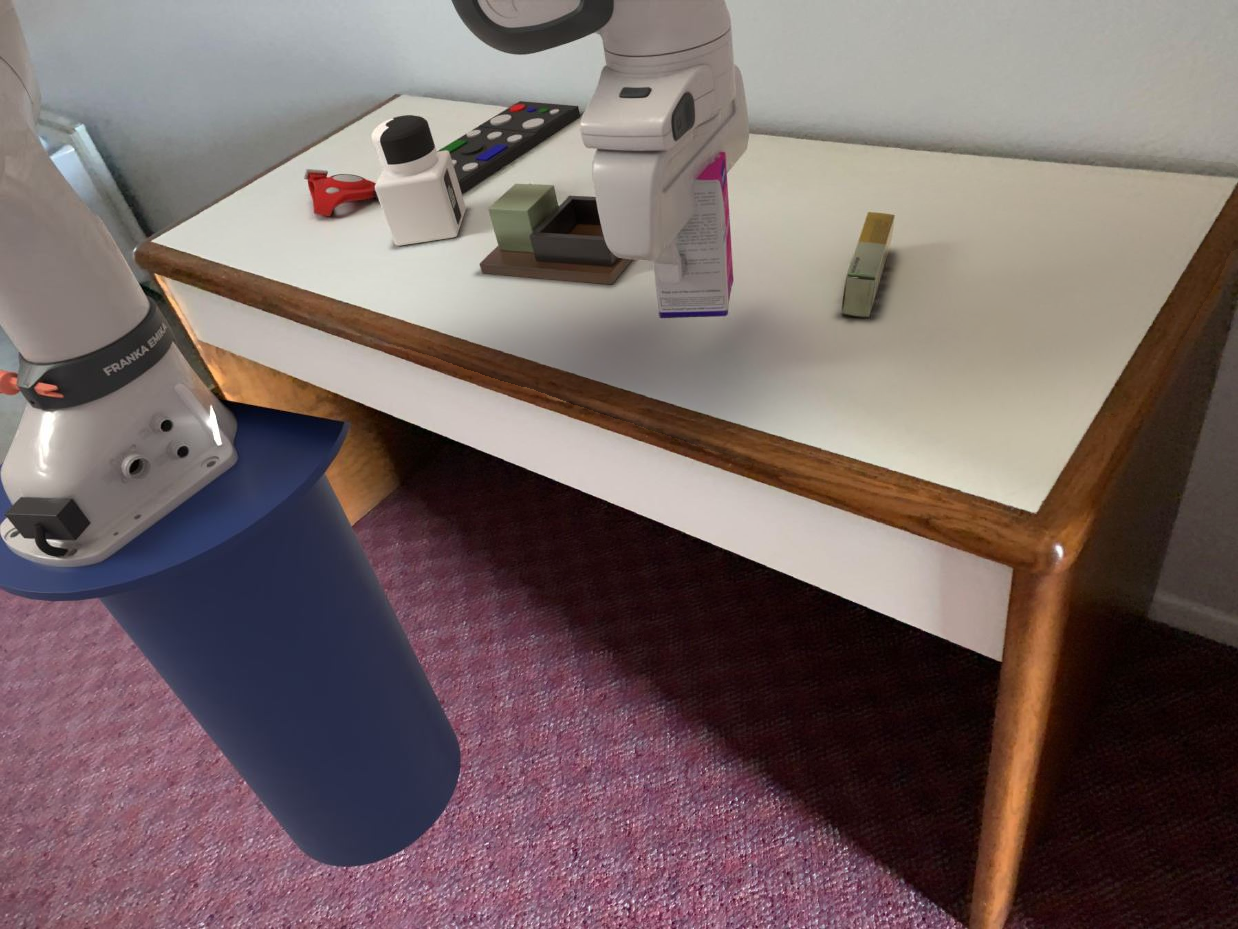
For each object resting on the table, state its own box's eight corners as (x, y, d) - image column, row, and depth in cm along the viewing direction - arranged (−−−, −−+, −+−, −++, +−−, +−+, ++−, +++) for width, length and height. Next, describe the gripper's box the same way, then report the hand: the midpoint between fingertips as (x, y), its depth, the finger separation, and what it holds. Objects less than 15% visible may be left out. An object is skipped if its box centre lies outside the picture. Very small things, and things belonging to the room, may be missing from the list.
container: (467, 209, 115) (436, 104, 107) (457, 237, 109) (424, 129, 101) (407, 218, 116) (372, 115, 108) (394, 247, 110) (356, 140, 102)
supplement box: (731, 317, 74) (718, 180, 67) (658, 319, 75) (637, 186, 68) (737, 280, 78) (726, 147, 71) (668, 283, 80) (650, 153, 72)
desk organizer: (612, 284, 94) (600, 228, 90) (482, 273, 101) (466, 221, 97) (658, 228, 102) (650, 174, 98) (534, 221, 109) (522, 171, 105)
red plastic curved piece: (391, 175, 125) (354, 190, 116) (391, 207, 127) (355, 225, 119) (309, 159, 127) (267, 173, 118) (311, 192, 129) (270, 208, 121)
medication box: (871, 319, 82) (875, 280, 79) (840, 315, 83) (843, 276, 80) (890, 249, 90) (895, 211, 87) (862, 246, 91) (866, 209, 88)
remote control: (580, 116, 133) (577, 102, 132) (435, 211, 116) (430, 196, 115) (522, 110, 139) (519, 97, 138) (376, 200, 122) (371, 186, 121)
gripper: (686, 30, 73) (703, 194, 82) (566, 134, 60) (602, 317, 69) (762, 27, 71) (772, 198, 79) (654, 136, 57) (680, 326, 66)
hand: (692, 254), depth 74 cm, fingers closed on supplement box, 6 cm apart
